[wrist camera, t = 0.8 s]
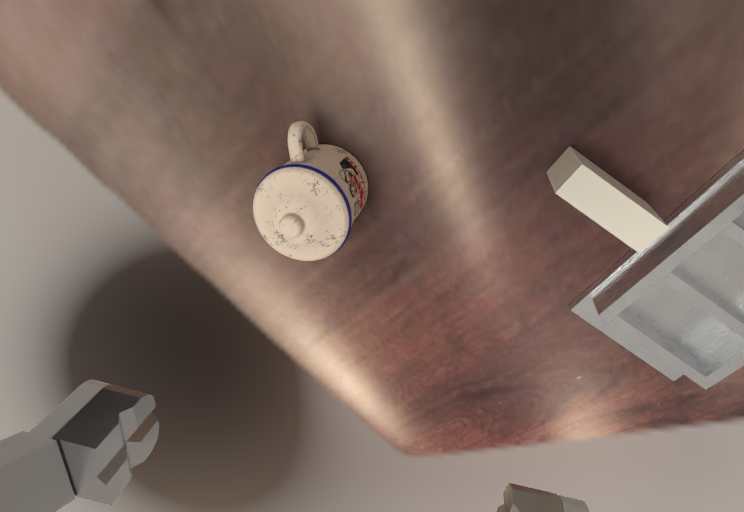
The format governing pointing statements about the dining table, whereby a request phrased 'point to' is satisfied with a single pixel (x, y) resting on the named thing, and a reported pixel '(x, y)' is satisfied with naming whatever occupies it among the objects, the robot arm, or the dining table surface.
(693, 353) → the rack
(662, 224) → the beige rectangular block
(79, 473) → the robot arm
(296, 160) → the teacup with lid
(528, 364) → the dining table surface
